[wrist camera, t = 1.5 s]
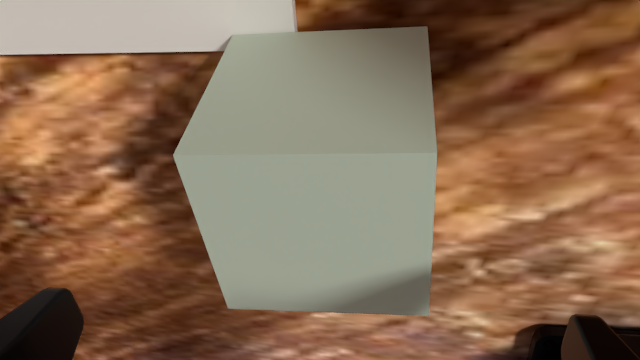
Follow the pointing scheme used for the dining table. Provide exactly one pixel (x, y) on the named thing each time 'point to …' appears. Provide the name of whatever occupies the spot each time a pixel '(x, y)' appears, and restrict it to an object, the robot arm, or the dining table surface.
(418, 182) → the sage cube
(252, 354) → the dining table surface
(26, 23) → the white base plate
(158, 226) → the dining table surface
